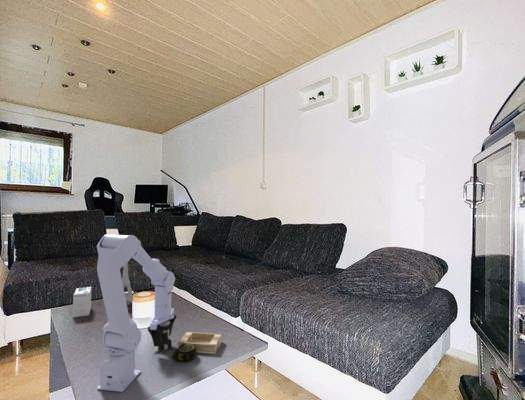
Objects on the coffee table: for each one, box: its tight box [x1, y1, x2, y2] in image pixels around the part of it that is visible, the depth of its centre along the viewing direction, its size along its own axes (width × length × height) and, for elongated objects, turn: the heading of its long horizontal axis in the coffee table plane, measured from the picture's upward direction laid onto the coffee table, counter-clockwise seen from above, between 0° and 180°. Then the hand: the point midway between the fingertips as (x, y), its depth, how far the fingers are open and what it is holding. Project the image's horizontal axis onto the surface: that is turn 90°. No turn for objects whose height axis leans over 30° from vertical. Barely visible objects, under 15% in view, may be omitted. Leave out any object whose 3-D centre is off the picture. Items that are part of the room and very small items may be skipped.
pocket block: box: [177, 331, 223, 355], centre depth 104 cm, size 9×14×3 cm, turn 83°
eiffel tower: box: [121, 261, 135, 303], centre depth 143 cm, size 13×13×30 cm
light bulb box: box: [72, 286, 92, 318], centre depth 134 cm, size 11×7×11 cm, turn 28°
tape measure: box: [171, 343, 197, 362], centre depth 96 cm, size 7×7×4 cm
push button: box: [153, 320, 173, 353], centre depth 102 cm, size 7×5×10 cm
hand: (162, 340), depth 102 cm, fingers open, 7 cm apart
